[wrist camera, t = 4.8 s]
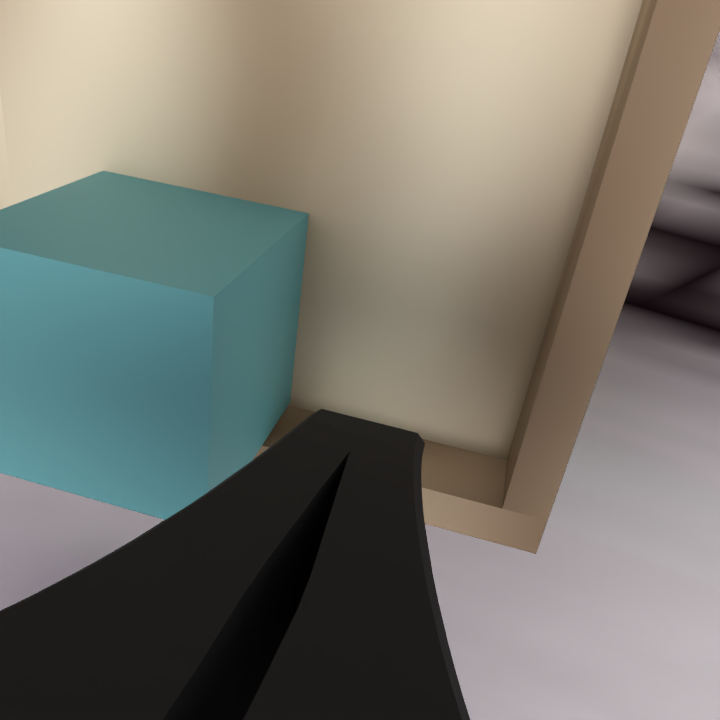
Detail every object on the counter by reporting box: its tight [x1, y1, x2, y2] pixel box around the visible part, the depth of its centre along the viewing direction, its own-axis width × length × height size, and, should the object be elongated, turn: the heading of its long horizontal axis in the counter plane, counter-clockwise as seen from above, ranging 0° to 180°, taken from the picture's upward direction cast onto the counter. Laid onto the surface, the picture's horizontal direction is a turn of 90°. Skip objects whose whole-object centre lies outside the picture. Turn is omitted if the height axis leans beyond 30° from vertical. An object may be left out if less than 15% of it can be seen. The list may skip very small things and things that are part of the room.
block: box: [0, 171, 309, 520], centre depth 12 cm, size 4×4×4 cm
